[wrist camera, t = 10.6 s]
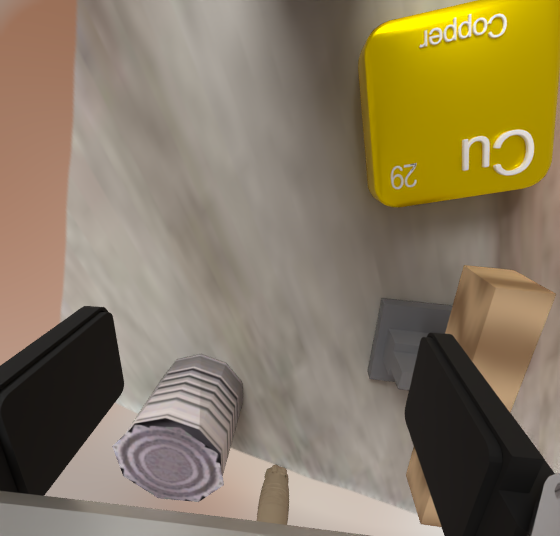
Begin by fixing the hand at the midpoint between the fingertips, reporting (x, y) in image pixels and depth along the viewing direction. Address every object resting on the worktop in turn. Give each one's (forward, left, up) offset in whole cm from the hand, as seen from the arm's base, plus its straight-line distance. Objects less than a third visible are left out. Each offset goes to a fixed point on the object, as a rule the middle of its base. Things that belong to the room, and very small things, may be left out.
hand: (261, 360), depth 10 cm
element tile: (-11, +13, -28) cm, 32 cm away
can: (+25, -10, -27) cm, 38 cm away
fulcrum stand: (+14, +17, -27) cm, 34 cm away
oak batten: (+14, +17, -19) cm, 29 cm away
